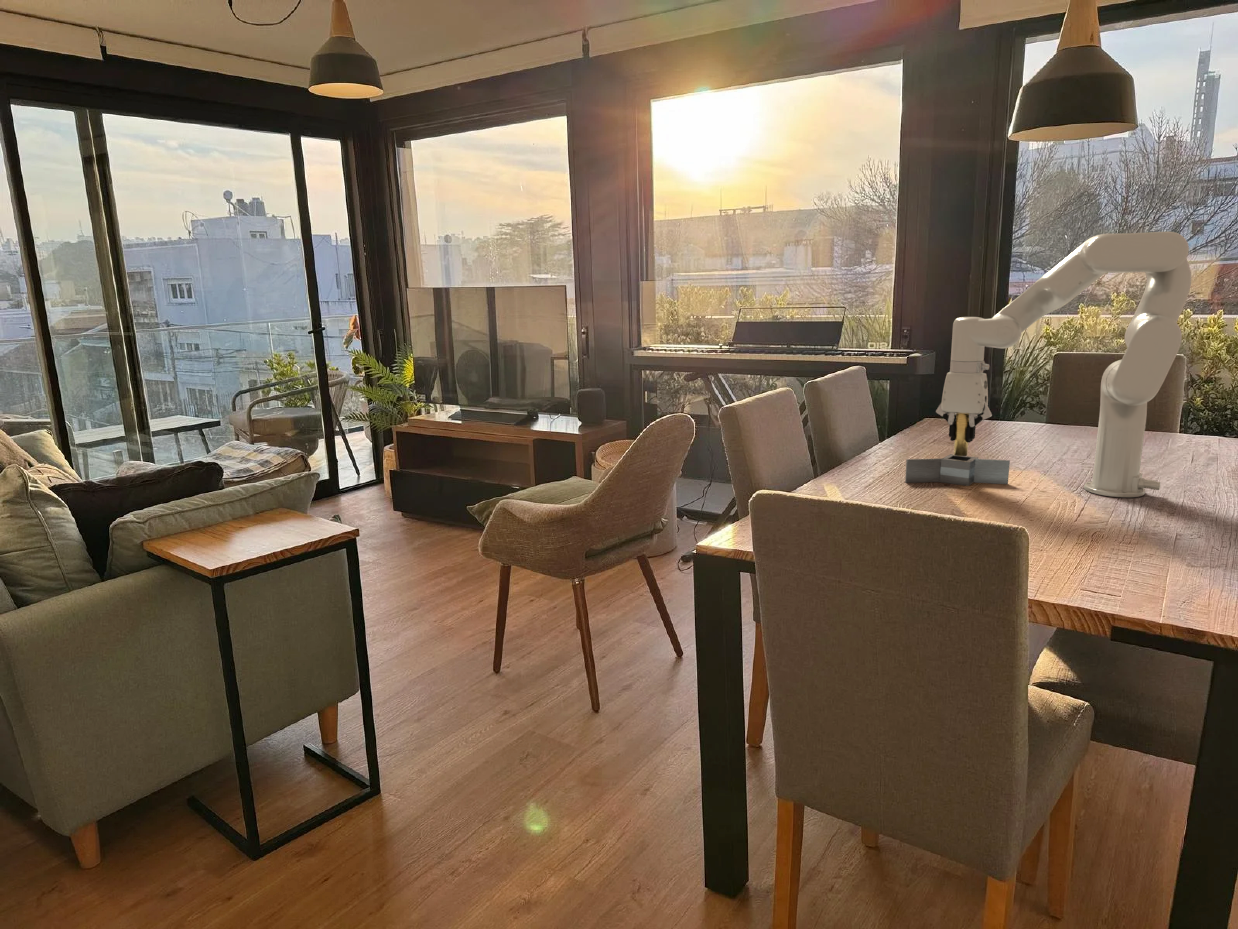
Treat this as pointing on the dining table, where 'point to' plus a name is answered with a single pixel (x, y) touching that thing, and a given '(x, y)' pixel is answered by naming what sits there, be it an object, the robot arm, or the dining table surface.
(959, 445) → the pin
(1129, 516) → the dining table surface
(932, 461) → the grey winged square socket
